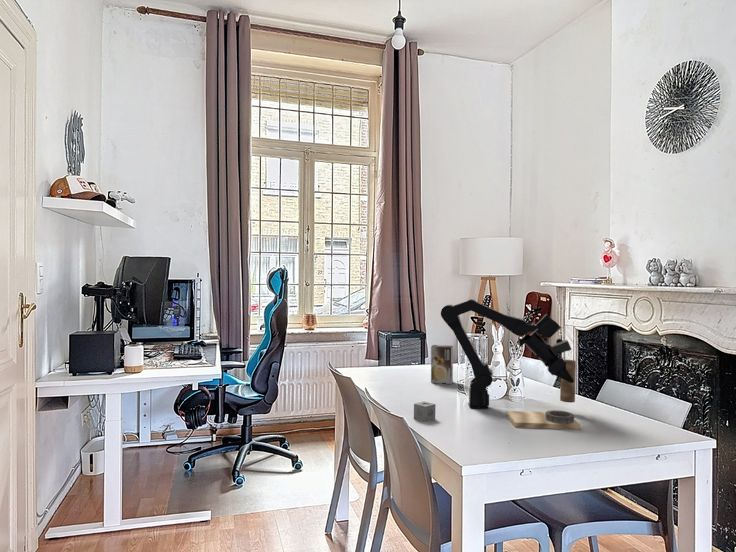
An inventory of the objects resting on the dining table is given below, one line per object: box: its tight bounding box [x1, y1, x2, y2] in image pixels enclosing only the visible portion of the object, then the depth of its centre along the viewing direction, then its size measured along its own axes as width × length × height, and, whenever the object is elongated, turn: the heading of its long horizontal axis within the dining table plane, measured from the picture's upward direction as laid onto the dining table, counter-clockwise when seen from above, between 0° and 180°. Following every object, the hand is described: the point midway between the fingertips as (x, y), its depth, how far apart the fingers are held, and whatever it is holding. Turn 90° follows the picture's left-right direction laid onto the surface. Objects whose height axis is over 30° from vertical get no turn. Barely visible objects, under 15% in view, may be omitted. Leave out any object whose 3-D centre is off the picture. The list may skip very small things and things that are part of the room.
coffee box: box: [430, 344, 454, 385], centre depth 231 cm, size 9×6×16 cm
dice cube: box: [413, 401, 436, 423], centre depth 173 cm, size 5×5×5 cm
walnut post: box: [559, 358, 577, 403], centre depth 183 cm, size 5×5×14 cm
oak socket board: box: [505, 409, 581, 430], centre depth 171 cm, size 20×14×4 cm
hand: (572, 380), depth 182 cm, fingers closed on walnut post, 5 cm apart
